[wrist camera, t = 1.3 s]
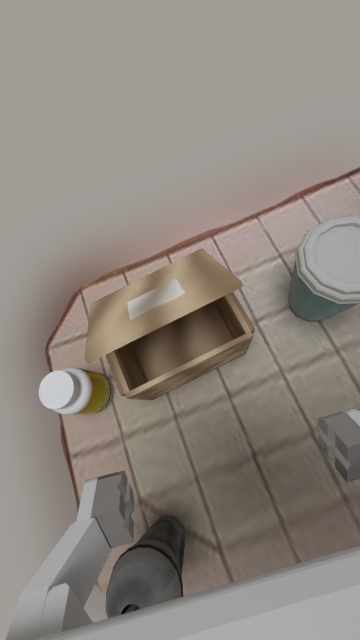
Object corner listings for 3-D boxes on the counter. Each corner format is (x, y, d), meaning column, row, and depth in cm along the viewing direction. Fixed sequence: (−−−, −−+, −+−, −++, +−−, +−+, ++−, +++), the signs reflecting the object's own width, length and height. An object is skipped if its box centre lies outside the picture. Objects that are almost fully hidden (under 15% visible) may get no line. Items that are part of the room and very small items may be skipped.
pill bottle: (111, 369, 45) (77, 358, 35) (116, 408, 43) (82, 409, 33) (75, 377, 46) (31, 370, 35) (79, 416, 44) (33, 421, 33)
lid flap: (203, 252, 35) (201, 247, 35) (242, 286, 25) (240, 280, 25) (93, 307, 35) (90, 303, 35) (88, 363, 25) (83, 357, 25)
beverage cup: (192, 573, 36) (157, 766, 17) (138, 561, 37) (48, 728, 18) (197, 509, 38) (171, 616, 19) (145, 500, 39) (72, 591, 20)
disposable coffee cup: (269, 324, 43) (291, 286, 29) (281, 263, 46) (307, 201, 32) (342, 340, 41) (405, 307, 27) (351, 275, 44) (412, 213, 30)
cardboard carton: (212, 288, 47) (209, 251, 35) (248, 352, 43) (257, 333, 31) (121, 333, 47) (89, 311, 35) (149, 401, 43) (122, 400, 31)
